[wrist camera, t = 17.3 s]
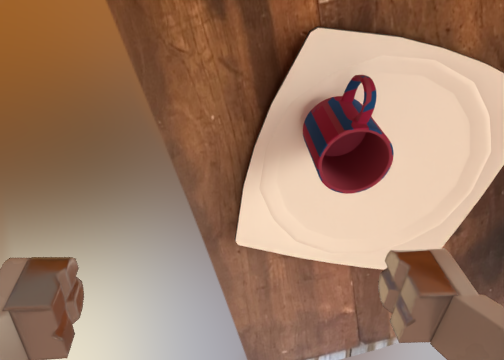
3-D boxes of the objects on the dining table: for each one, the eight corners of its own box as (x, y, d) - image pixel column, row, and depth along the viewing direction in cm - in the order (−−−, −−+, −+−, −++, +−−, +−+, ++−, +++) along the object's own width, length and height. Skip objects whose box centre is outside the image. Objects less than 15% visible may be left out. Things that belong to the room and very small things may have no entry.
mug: (294, 150, 42) (307, 188, 37) (326, 55, 37) (347, 82, 31) (353, 160, 44) (375, 198, 38) (392, 70, 38) (424, 99, 33)
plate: (298, 0, 37) (303, 6, 34) (550, 78, 43) (568, 87, 41) (220, 235, 51) (221, 250, 49) (416, 267, 58) (425, 281, 56)
